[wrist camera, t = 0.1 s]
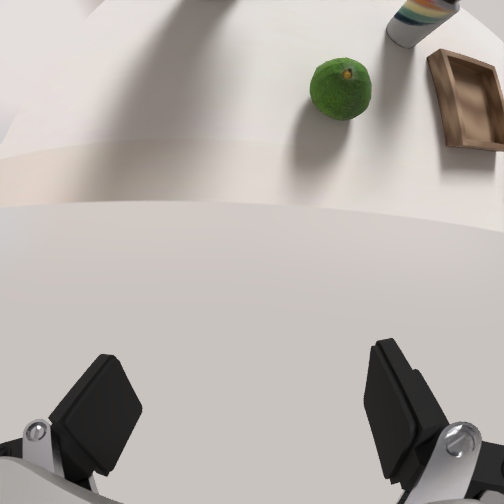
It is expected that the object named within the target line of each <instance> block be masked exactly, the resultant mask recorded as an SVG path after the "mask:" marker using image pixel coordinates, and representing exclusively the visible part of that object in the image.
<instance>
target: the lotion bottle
mask: <svg viewBox="0 0 504 504" xmlns="http://www.w3.org/2000/svg"><path fill="white" fill-rule="evenodd" d="M459 1H460V0H407V1H406V2H405V3H404V5H403V6H402V7H401V8H400V9H399V11H398V12H397V13H396V14H395V15H394V17H393V18H392V19H391V20H390V22H389V23H388V25H387V32H388V34H389V36H390V37H391V39H392V40H393V41H394V42H396V43H397V44H398V45H400V46H403V47H407V48H410V47H413V46H415V45H416V44H417V43H419V42H420V41H421V40H422V39H424V38H425V37H426V36H427V35H429V34H430V33H431V32H432V31H434V30H435V29H436V28H438V27H439V26H440V25H441V24H443V23H444V22H445V21H447V20H448V19H449V18H451V17H452V16H453V15H454V14H456V13H457V12H458V11H459V9H460V6H459Z"/></svg>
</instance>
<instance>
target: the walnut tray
mask: <svg viewBox="0 0 504 504" xmlns="http://www.w3.org/2000/svg"><path fill="white" fill-rule="evenodd" d="M427 60H428V63H429V66H430V70H431V73H432V77H433V80H434V84H435V88H436V92H437V97H438V101H439V106H440V110H441V116H442V121H443V127H444V133H445V140H446V146H448V147H461V148H472V149H482V150H490V151H504V99H503V95H502V91H501V87H500V84H499V80H498V77H497V73H496V70H495V67H494V66H492V65H489V64H487V63H484V62H482V61H479V60H476V59H473V58H470V57H467V56H464V55H461V54H458V53H455V52H451V51H448V50H444V49H439V50H437V51H436V52H434V53H433V54H431V55H430V56H428V57H427Z"/></svg>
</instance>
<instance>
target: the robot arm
mask: <svg viewBox="0 0 504 504" xmlns="http://www.w3.org/2000/svg"><path fill="white" fill-rule="evenodd" d="M364 407H365V411H366V414H367V417H368V421H369V424H370V427H371V431H372V434H373V437H374V441H375V445H376V448H377V451H378V455H379V459H380V463H381V467H382V471H383V475H384V477H385V479H389V478H390V482H391V484H395V483H398V482H400V484H401V487H402V489H404V491H403V493H402V495H401V496H400V498H399V499H398V501H397V503H396V504H504V445H499V444H494V443H489V442H485V441H482V437H481V433H480V431H479V430H478V428H477V427H476V426H474V425H473V424H471V423H468V422H456V423H452V424H449V422H448V420H447V418H446V416H445V415H444V413H443V411H442V409H441V407H440V406H439V404H438V402H437V400H436V398H435V397H434V395H433V393H432V392H431V390H430V388H429V386H428V385H427V383H426V381H425V380H424V378H423V376H422V375H421V373H420V372H419V370H417V369H414V370H412V368H411V367H410V365H409V363H408V361H407V360H406V358H405V357H404V355H403V353H402V351H401V350H400V348H399V347H398V345H397V343H396V342H395V340H394V339H393V338H389V339H384V340H379V341H377V342H376V345H375V346H372V347H371V351H370V360H369V367H368V374H367V382H366V388H365V393H364ZM141 413H142V405H141V403H140V401H139V399H138V397H137V396H136V394H135V392H134V390H133V388H132V386H131V384H130V382H129V380H128V378H127V376H126V374H125V372H124V370H123V368H122V365H121V363H120V361H119V360H118V359H117V358H116V357H115V356H114V355H107V354H101V355H99V356H98V357H97V359H96V360H95V361H94V362H93V363H92V364H91V366H90V367H89V368H88V369H87V370H86V372H85V373H84V374H83V375H82V376H81V378H80V379H79V380H78V381H77V382H76V384H75V385H74V386H73V387H72V388H71V390H70V391H69V392H68V393H67V395H66V396H65V397H64V398H63V400H62V401H61V402H60V403H59V405H58V406H57V407H56V408H55V410H54V411H53V412H52V413H51V415H50V416H49V417H48V418H49V420H50V421H51V422H52V425H51V426H50V424H49V423H48V422H47V421H45V420H43V419H36V420H34V421H32V422H30V423H29V424H28V425H27V426H26V427H25V429H24V432H23V438H19V439H16V440H12V441H8V442H5V443H2V444H0V504H122V503H119V502H117V501H114V500H111V499H109V498H106V497H103V496H101V495H99V493H98V490H97V487H96V484H95V480H94V477H93V474H92V473H93V471H96V473H98V474H101V475H104V476H106V477H107V476H108V474H109V472H110V471H112V470H113V469H114V467H115V465H116V463H117V461H118V459H119V457H120V455H121V453H122V451H123V449H124V447H125V445H126V443H127V440H128V439H129V437H130V435H131V433H132V431H133V429H134V427H135V425H136V423H137V421H138V419H139V417H140V415H141Z"/></svg>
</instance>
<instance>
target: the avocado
mask: <svg viewBox="0 0 504 504" xmlns="http://www.w3.org/2000/svg"><path fill="white" fill-rule="evenodd" d="M310 94H311V98H312V101H313V103H314V104H315V105H316V107H317V108H318V110H320V111H321V112H322V113H324V114H326V115H328V116H329V117H331V118H333V119H338V120H348V119H353V118H355V117H356V116H358V115H360V114H361V113H362V112H364V111H365V110H366V109H367V107H368V105H369V102H370V99H371V81H370V77H369V75H368V72H367V69H366V68H365V67H364V66H363V65H362V64H361V63H359V62H357V61H355V60H352V59H349V58H337V59H333V60H331V61H327V62H325V63H323V64H322V65H320V66H319V67H317V68H316V71H315V73H314V75H313V78H312V80H311V83H310Z"/></svg>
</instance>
